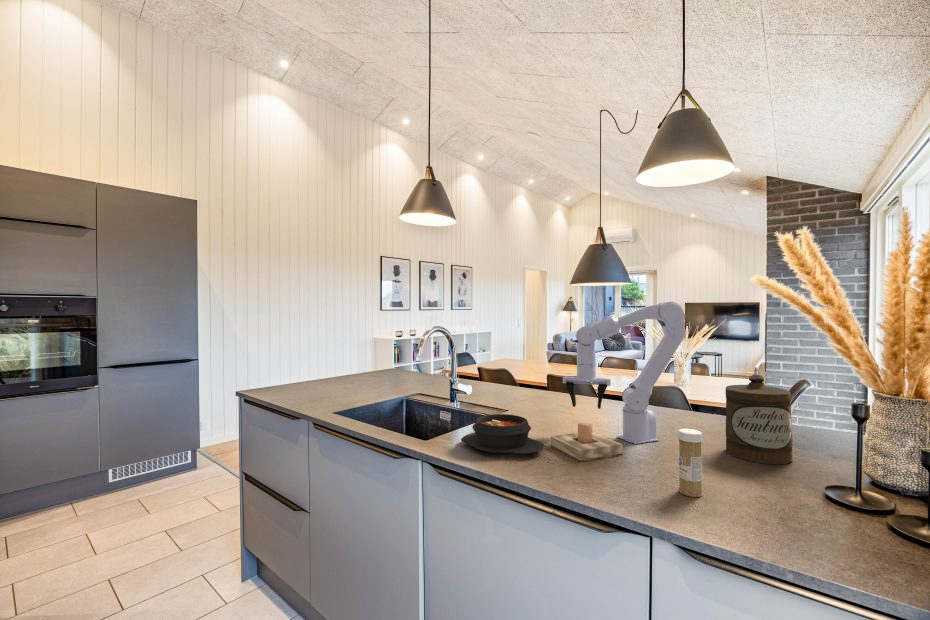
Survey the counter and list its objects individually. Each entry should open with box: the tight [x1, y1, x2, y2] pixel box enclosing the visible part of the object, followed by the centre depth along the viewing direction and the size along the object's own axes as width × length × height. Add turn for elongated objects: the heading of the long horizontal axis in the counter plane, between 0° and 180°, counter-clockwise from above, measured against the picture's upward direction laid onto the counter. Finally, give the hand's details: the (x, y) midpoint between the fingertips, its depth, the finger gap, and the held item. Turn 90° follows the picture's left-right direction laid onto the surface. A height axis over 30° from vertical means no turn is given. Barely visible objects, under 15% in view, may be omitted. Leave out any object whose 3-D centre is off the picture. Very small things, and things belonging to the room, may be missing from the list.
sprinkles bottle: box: [677, 428, 703, 498], centre depth 90 cm, size 5×5×14 cm
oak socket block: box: [550, 432, 624, 463], centre depth 118 cm, size 14×14×3 cm
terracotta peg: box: [577, 422, 594, 444], centre depth 118 cm, size 4×4×7 cm
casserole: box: [460, 413, 545, 455], centre depth 121 cm, size 25×19×8 cm
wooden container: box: [725, 373, 793, 465], centre depth 114 cm, size 15×15×22 cm
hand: (586, 407), depth 132 cm, fingers open, 7 cm apart
